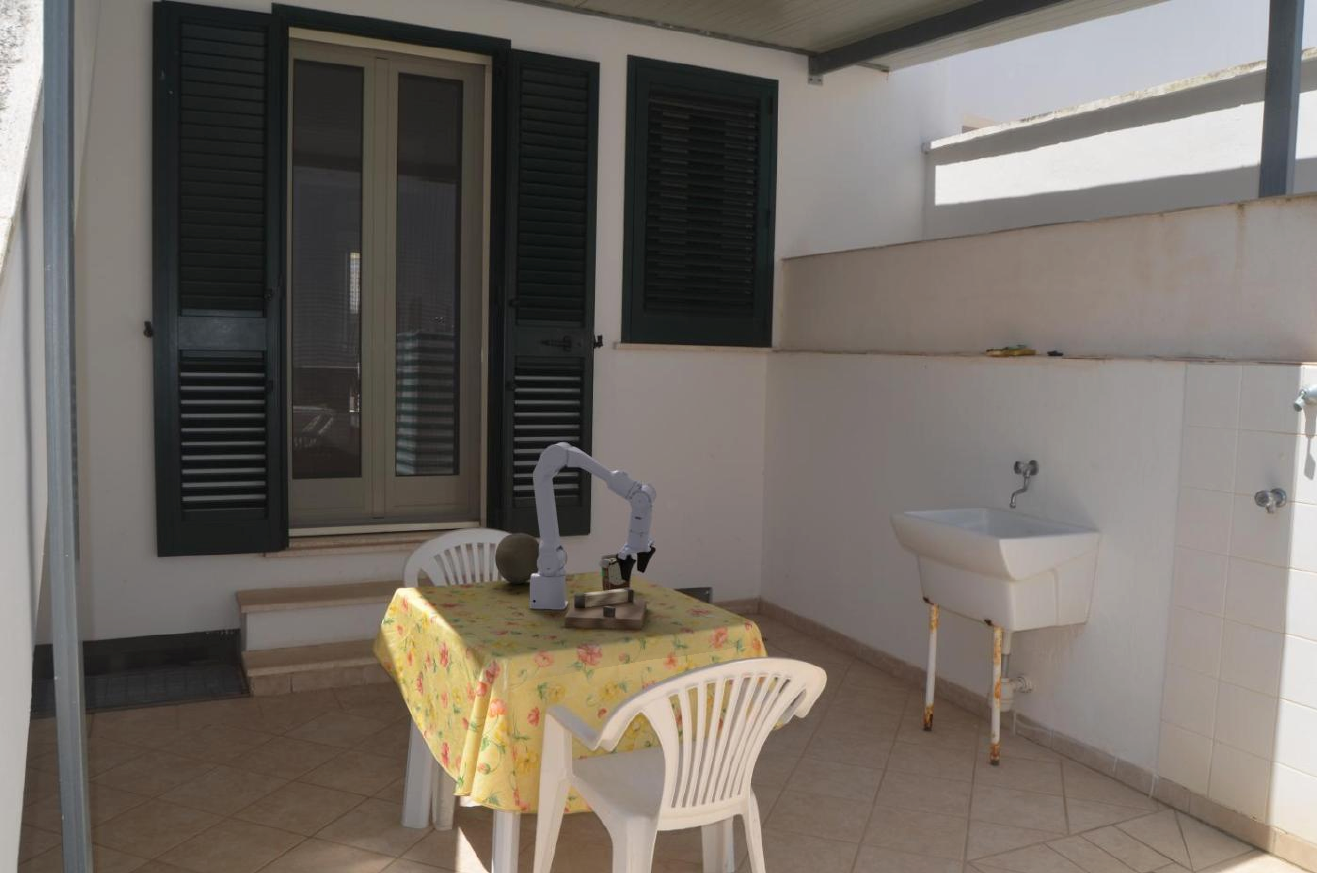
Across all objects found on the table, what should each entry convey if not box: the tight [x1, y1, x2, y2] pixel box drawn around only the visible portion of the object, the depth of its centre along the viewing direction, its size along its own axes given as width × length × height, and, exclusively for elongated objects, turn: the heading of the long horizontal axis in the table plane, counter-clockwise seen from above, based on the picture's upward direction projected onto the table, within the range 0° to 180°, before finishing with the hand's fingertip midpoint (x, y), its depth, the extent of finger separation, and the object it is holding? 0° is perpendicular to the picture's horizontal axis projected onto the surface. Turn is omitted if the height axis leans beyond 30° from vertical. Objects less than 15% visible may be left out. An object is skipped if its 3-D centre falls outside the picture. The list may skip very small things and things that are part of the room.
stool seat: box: [564, 598, 648, 630], centre depth 275 cm, size 19×22×5 cm
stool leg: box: [573, 587, 635, 608], centre depth 279 cm, size 17×3×3 cm, turn 122°
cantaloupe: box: [494, 532, 540, 585], centre depth 312 cm, size 14×14×15 cm
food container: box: [598, 553, 634, 591], centre depth 306 cm, size 12×6×10 cm, turn 144°
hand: (633, 575), depth 287 cm, fingers open, 7 cm apart
